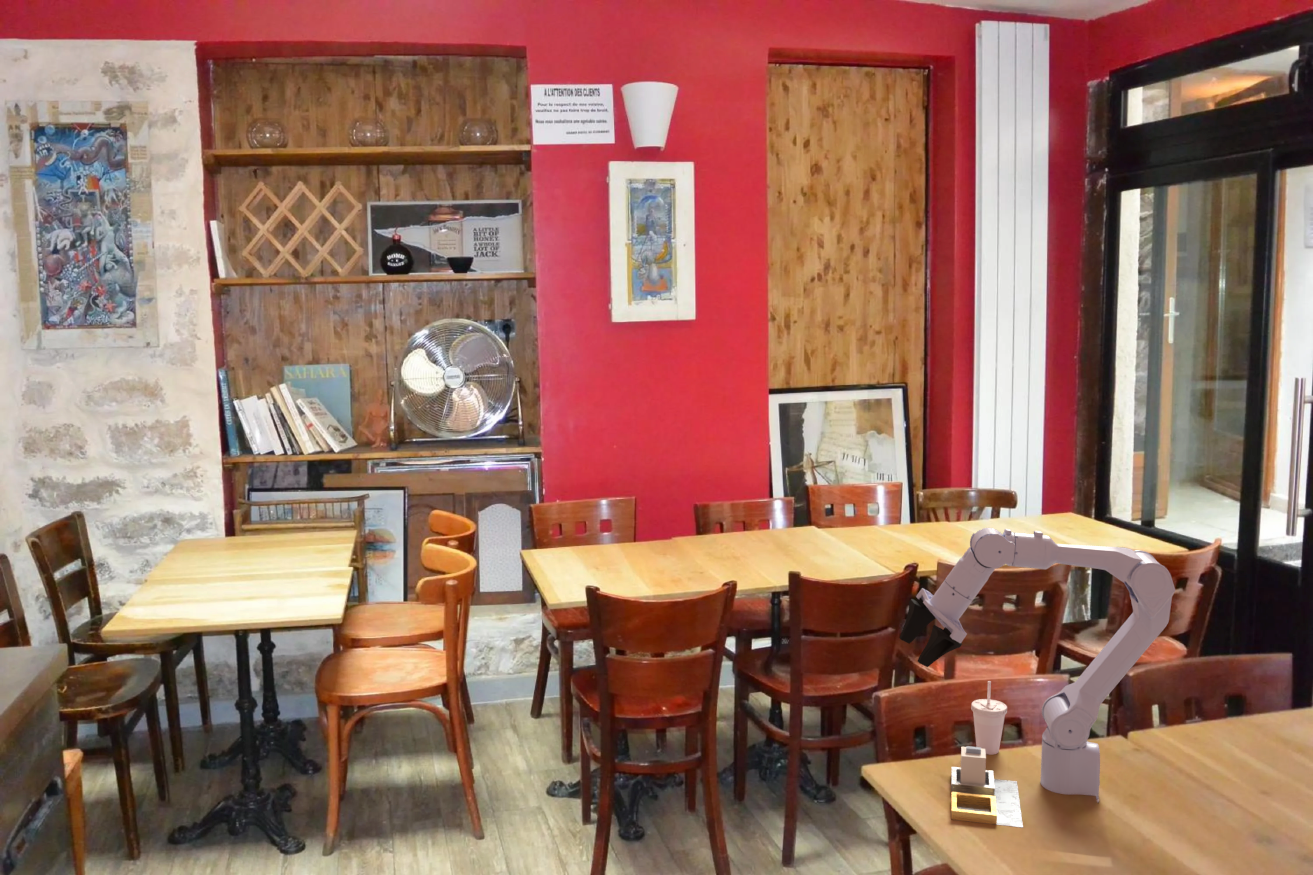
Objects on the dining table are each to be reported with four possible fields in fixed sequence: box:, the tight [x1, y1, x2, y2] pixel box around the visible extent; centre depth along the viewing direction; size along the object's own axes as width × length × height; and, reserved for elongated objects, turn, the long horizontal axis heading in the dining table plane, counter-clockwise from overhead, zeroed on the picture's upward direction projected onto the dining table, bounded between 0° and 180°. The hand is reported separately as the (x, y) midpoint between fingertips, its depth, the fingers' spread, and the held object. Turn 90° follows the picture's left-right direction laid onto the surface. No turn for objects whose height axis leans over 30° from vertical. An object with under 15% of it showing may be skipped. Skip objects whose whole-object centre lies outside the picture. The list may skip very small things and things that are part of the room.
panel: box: [950, 766, 1024, 828], centre depth 185 cm, size 11×17×2 cm, turn 165°
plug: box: [960, 745, 987, 785], centre depth 190 cm, size 4×4×7 cm
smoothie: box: [970, 680, 1008, 756], centre depth 205 cm, size 6×6×14 cm
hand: (913, 652), depth 192 cm, fingers open, 7 cm apart
